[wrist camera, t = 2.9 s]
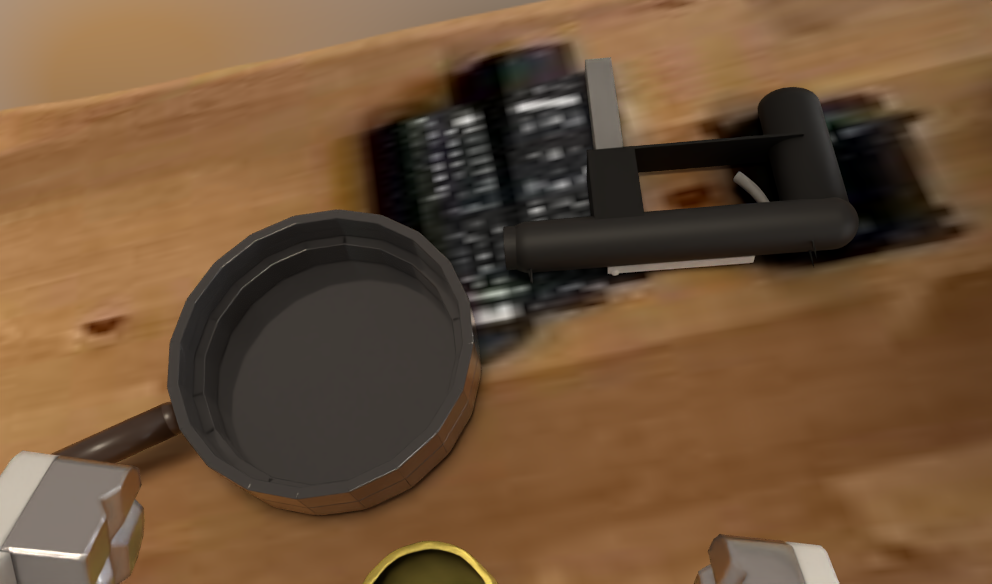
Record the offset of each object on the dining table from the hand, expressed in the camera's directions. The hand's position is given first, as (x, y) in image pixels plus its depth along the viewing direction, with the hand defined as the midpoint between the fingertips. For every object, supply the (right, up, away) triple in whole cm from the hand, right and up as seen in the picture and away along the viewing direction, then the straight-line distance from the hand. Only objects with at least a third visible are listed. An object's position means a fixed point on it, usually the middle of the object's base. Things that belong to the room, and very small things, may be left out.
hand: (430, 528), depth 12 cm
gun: (+11, +11, +41) cm, 44 cm away
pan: (-8, -1, +37) cm, 38 cm away
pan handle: (-20, -6, +33) cm, 39 cm away
